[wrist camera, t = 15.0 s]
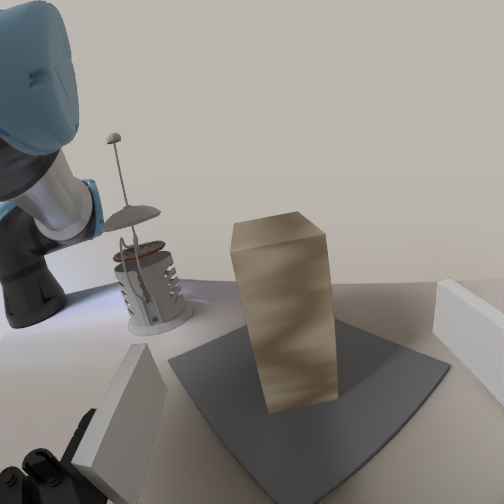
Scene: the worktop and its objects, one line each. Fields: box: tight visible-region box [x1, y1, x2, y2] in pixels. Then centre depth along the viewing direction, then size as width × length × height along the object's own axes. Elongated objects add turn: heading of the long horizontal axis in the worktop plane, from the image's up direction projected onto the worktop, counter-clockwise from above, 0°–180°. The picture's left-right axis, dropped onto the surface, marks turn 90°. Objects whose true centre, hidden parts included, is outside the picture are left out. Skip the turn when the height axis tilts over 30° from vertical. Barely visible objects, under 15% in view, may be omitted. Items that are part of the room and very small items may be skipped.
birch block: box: [230, 212, 338, 413], centre depth 21 cm, size 5×8×12 cm, turn 2°
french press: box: [101, 133, 194, 336], centre depth 34 cm, size 10×12×25 cm
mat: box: [168, 319, 450, 504], centre depth 22 cm, size 20×16×1 cm
